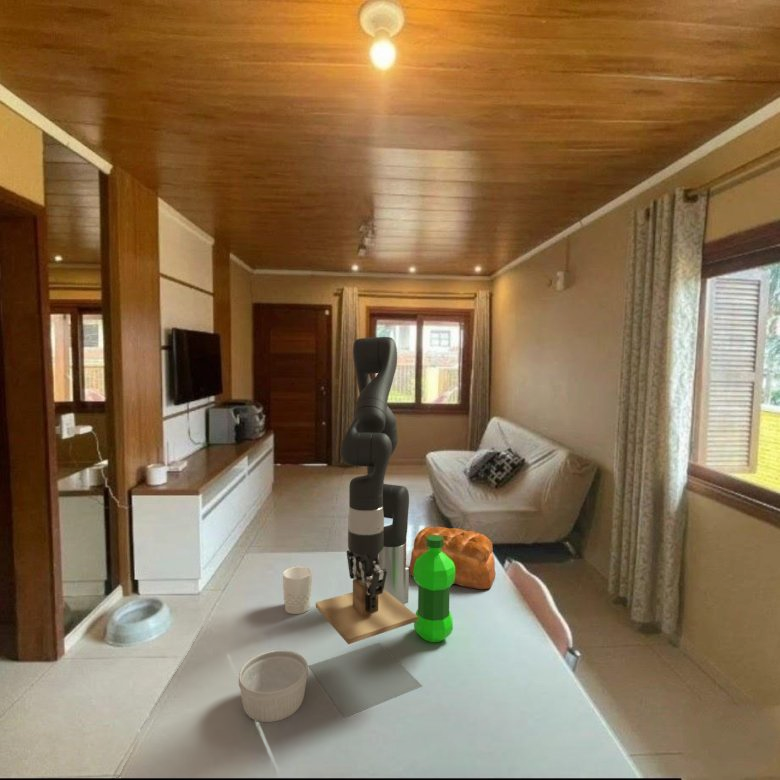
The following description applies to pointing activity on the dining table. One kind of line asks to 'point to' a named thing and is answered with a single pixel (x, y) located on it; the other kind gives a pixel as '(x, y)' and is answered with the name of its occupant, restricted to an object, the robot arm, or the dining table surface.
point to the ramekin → (273, 685)
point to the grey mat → (363, 679)
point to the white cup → (297, 589)
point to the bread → (461, 555)
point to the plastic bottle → (434, 591)
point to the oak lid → (364, 614)
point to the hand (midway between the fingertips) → (365, 605)
